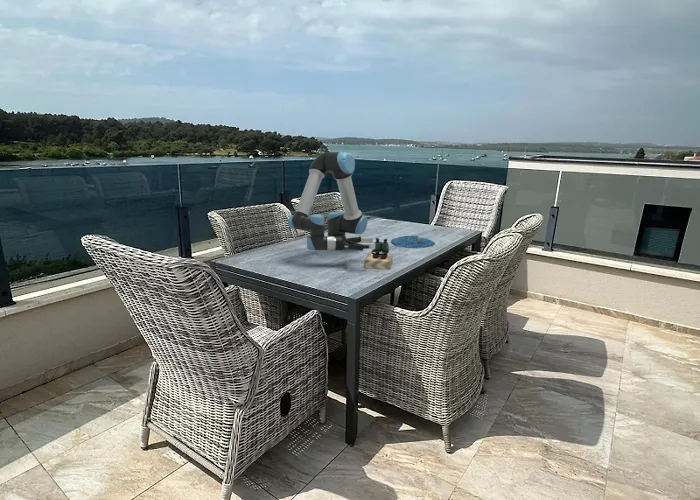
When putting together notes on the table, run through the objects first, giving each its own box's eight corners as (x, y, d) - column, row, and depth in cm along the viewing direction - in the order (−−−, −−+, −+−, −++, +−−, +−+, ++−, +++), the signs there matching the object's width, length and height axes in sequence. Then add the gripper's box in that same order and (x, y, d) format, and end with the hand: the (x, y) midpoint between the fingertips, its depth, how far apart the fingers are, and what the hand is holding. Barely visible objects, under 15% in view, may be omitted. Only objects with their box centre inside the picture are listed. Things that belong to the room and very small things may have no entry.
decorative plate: (435, 252, 245) (435, 244, 243) (389, 248, 250) (389, 241, 248) (434, 239, 272) (434, 232, 271) (392, 236, 277) (392, 230, 276)
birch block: (363, 268, 206) (364, 259, 205) (368, 261, 219) (368, 253, 218) (389, 270, 203) (389, 261, 202) (392, 263, 216) (392, 254, 215)
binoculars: (370, 242, 203) (374, 236, 212) (370, 260, 207) (374, 254, 215) (386, 243, 200) (390, 237, 209) (386, 262, 204) (390, 255, 213)
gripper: (335, 244, 219) (371, 244, 220) (335, 256, 195) (376, 256, 196) (335, 231, 217) (371, 231, 218) (335, 242, 193) (376, 242, 194)
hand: (373, 243), depth 207 cm, fingers open, 13 cm apart
